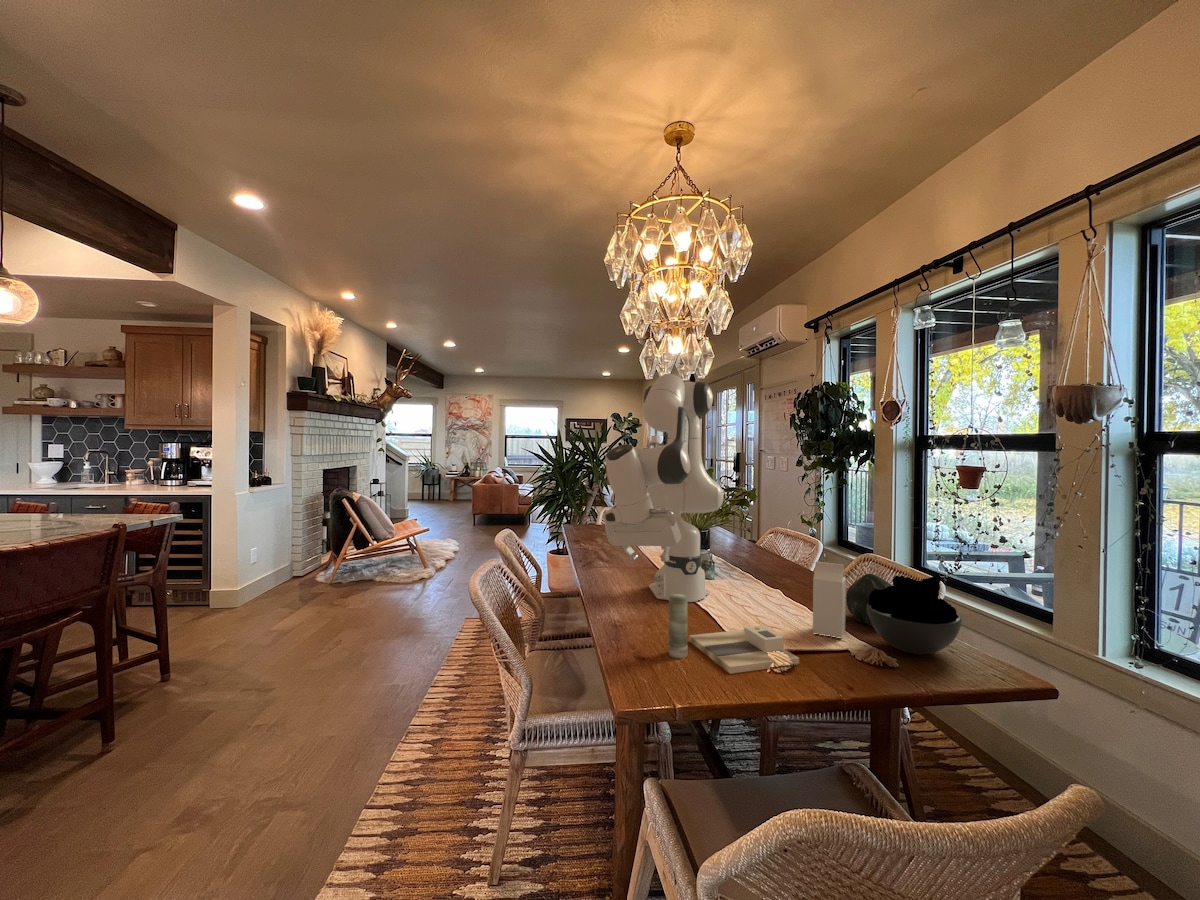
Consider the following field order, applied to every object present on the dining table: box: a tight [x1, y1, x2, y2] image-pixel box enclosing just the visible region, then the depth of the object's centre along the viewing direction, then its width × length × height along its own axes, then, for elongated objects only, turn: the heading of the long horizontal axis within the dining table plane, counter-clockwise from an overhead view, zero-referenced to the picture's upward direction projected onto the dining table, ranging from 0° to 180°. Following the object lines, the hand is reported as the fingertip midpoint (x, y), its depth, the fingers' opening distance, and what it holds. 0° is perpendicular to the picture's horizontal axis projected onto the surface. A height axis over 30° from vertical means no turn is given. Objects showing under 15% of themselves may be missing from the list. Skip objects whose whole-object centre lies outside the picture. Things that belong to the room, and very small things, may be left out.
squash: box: [845, 573, 893, 626], centre depth 151 cm, size 14×15×15 cm
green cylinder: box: [667, 594, 689, 659], centre depth 126 cm, size 5×5×14 cm
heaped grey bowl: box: [867, 574, 963, 655], centre depth 129 cm, size 20×20×19 cm
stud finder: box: [743, 624, 784, 652], centre depth 129 cm, size 9×5×3 cm, turn 17°
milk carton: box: [812, 561, 847, 639], centre depth 141 cm, size 7×7×19 cm
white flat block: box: [688, 629, 800, 675], centre depth 128 cm, size 20×18×2 cm
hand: (649, 560), depth 133 cm, fingers open, 8 cm apart
